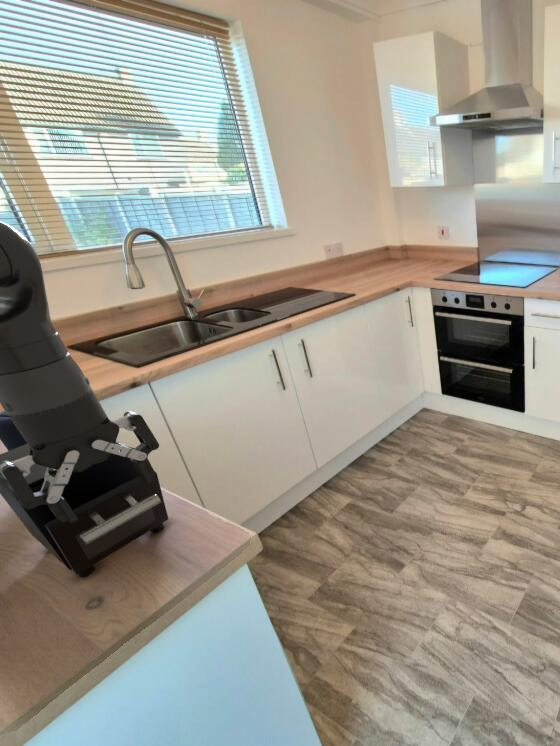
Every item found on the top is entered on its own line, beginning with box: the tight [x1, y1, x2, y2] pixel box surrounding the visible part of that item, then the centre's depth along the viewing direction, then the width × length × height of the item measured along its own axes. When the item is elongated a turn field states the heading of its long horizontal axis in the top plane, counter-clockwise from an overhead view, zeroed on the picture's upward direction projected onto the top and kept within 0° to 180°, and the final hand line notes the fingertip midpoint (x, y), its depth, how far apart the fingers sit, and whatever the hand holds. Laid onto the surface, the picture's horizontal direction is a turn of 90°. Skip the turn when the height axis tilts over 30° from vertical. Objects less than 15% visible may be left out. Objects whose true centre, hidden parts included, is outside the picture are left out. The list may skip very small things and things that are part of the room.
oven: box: [0, 440, 165, 579], centre depth 70 cm, size 16×13×18 cm
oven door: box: [45, 471, 169, 576], centre depth 65 cm, size 5×13×14 cm, turn 152°
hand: (112, 499), depth 59 cm, fingers open, 8 cm apart
